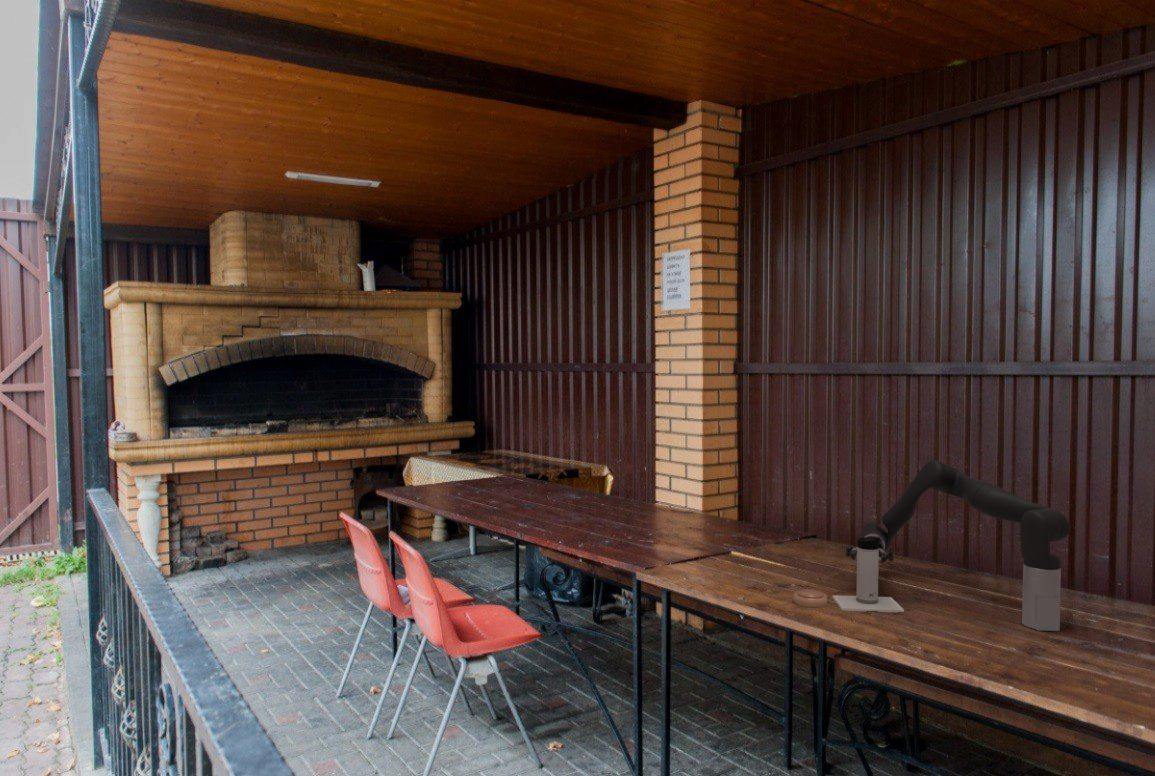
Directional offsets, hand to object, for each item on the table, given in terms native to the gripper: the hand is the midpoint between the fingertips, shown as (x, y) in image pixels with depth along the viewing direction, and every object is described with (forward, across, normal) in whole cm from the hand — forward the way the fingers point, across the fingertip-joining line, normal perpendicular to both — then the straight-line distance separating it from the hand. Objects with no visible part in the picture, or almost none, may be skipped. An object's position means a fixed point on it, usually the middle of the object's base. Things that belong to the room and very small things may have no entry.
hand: (867, 558), depth 253 cm
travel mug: (+5, +1, +12) cm, 13 cm away
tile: (+6, +1, +13) cm, 14 cm away
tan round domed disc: (+11, -16, +13) cm, 23 cm away
